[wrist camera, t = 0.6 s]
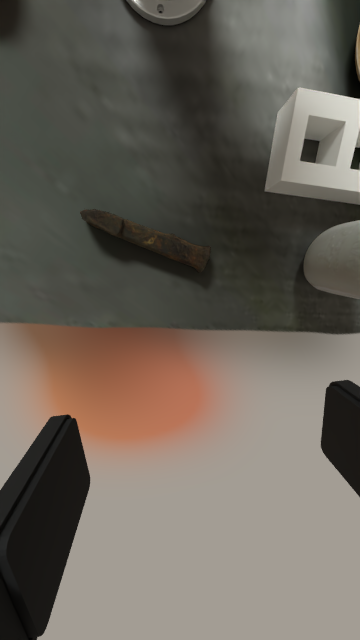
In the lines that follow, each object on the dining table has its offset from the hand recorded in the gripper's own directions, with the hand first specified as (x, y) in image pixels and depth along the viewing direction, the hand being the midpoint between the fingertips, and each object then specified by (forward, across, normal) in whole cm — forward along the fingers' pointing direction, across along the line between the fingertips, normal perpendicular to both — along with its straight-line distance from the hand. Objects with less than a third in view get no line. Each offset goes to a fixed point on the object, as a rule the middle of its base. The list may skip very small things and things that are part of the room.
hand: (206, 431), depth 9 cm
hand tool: (+31, +3, -9) cm, 32 cm away
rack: (+31, -24, -18) cm, 43 cm away
